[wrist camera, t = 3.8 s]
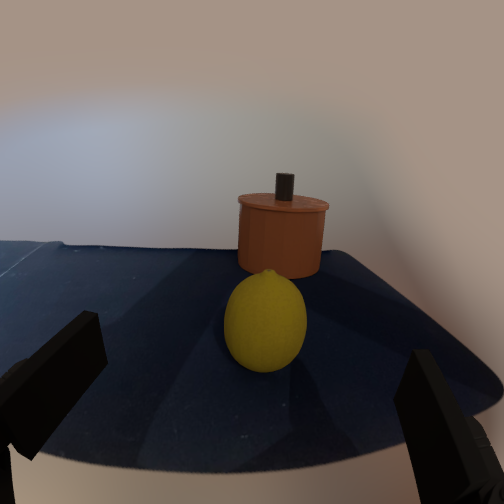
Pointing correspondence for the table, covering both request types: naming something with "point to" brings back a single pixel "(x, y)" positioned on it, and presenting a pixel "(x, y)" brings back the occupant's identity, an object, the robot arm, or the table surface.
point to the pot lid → (283, 198)
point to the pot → (280, 241)
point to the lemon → (265, 322)
